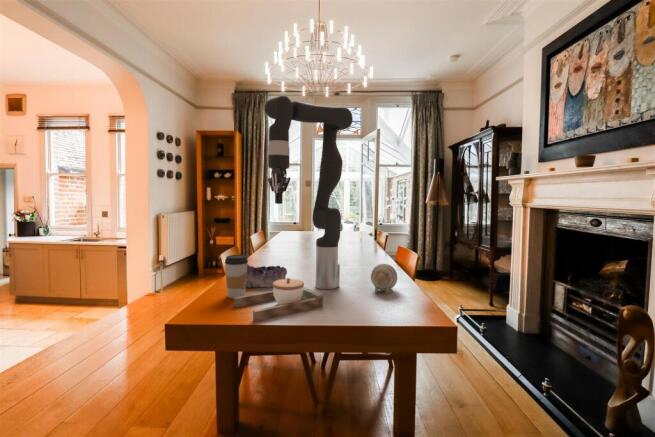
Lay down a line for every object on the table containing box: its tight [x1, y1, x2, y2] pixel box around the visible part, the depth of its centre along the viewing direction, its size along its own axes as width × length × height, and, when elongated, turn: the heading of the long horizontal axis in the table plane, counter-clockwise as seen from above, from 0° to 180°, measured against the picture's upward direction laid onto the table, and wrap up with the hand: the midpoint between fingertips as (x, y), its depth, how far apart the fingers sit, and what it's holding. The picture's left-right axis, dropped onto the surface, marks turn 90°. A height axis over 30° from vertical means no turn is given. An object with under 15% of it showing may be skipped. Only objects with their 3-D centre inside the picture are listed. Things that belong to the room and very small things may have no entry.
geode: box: [246, 263, 288, 289], centre depth 139 cm, size 20×12×10 cm, turn 101°
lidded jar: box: [272, 277, 305, 305], centre depth 115 cm, size 11×11×9 cm
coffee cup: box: [224, 254, 249, 299], centre depth 123 cm, size 8×8×15 cm
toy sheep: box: [370, 263, 398, 295], centre depth 134 cm, size 11×17×11 cm, turn 165°
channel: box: [233, 286, 324, 322], centre depth 113 cm, size 25×17×4 cm
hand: (278, 203), depth 118 cm, fingers closed
